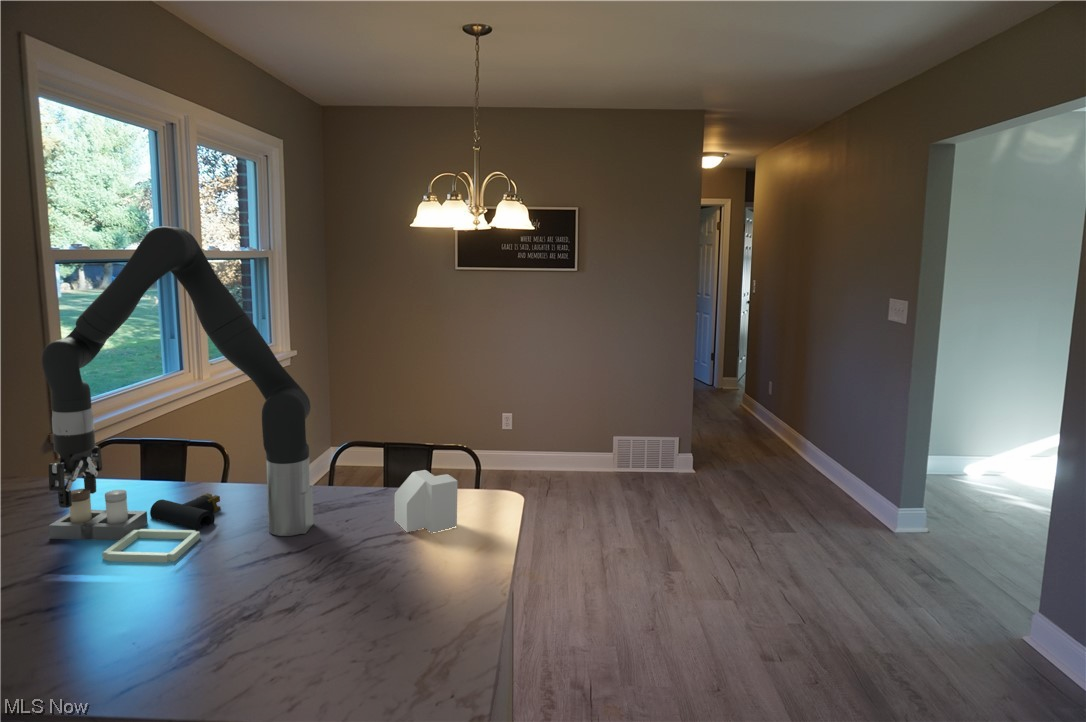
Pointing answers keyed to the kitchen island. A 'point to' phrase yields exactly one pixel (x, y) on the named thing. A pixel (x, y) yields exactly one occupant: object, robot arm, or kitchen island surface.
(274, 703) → the kitchen island surface
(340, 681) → the kitchen island surface
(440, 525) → the pale house-shaped block
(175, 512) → the pipe connector
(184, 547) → the parts tray
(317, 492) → the kitchen island surface
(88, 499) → the cylinder
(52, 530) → the fuse block
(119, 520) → the cylinder
